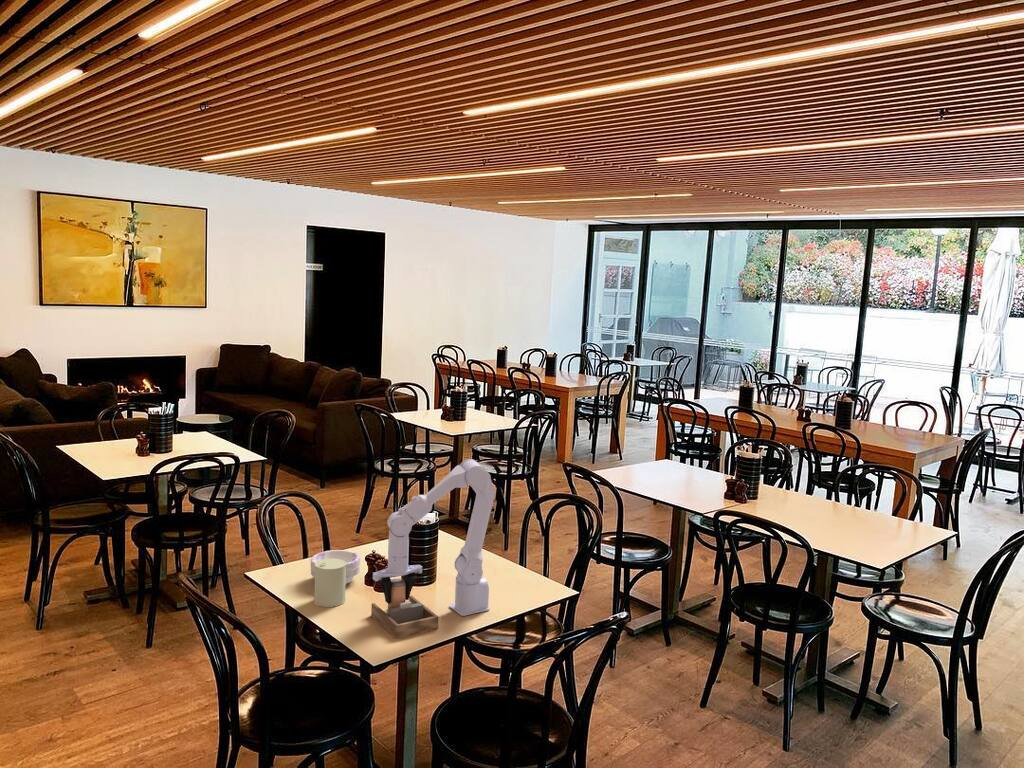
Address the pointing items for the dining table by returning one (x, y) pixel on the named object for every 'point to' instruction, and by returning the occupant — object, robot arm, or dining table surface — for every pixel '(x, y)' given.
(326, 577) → the can
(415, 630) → the brown wooden tray
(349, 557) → the paper bowls
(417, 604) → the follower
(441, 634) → the dining table surface
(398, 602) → the jar
